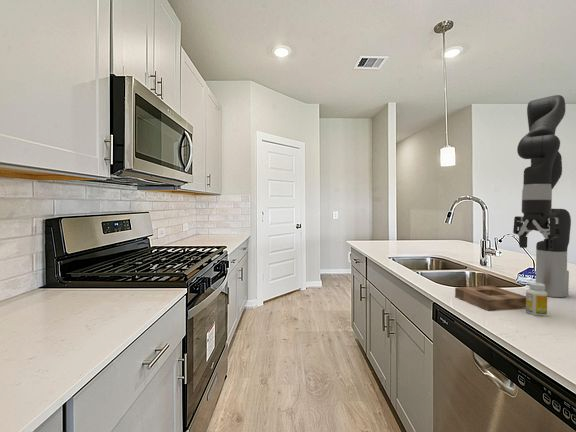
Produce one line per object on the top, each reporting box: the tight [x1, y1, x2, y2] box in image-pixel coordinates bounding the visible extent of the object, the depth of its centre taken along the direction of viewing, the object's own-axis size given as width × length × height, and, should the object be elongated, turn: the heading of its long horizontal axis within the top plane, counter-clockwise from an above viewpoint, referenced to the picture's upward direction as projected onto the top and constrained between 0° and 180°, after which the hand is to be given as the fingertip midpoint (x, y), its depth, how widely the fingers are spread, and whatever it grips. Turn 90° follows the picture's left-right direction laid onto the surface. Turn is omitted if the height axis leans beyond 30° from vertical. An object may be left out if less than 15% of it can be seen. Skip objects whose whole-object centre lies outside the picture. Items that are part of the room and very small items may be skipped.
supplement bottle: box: [525, 281, 548, 317], centre depth 101 cm, size 5×5×10 cm
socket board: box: [454, 285, 526, 312], centre depth 114 cm, size 16×16×4 cm
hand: (534, 249), depth 102 cm, fingers open, 8 cm apart
